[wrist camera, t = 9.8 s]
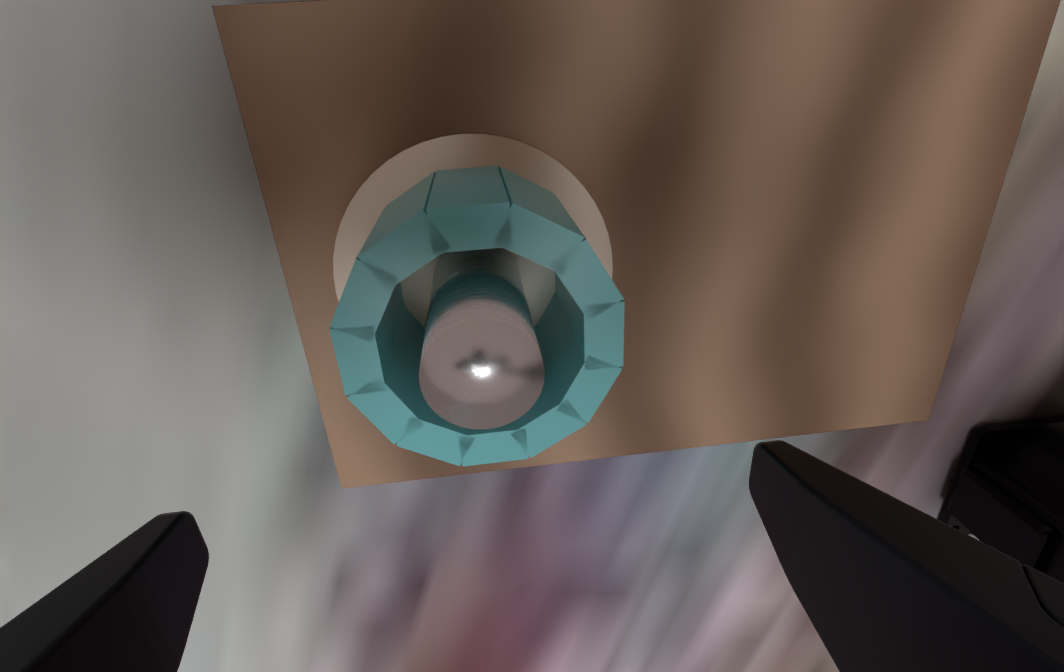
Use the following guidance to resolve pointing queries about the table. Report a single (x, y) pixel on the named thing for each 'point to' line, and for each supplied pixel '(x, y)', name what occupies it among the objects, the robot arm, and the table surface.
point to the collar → (397, 337)
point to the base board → (660, 187)
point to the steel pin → (479, 342)
